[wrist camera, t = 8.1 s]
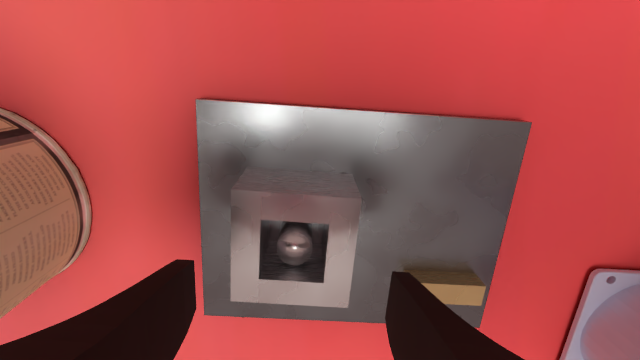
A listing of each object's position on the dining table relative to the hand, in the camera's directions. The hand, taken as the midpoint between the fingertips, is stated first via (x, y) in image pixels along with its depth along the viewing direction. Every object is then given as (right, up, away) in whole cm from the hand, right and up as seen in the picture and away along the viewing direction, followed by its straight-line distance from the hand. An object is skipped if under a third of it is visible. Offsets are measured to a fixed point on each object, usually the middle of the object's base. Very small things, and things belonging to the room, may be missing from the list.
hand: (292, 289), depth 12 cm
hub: (0, +2, +5) cm, 6 cm away
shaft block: (+3, +2, +6) cm, 7 cm away
